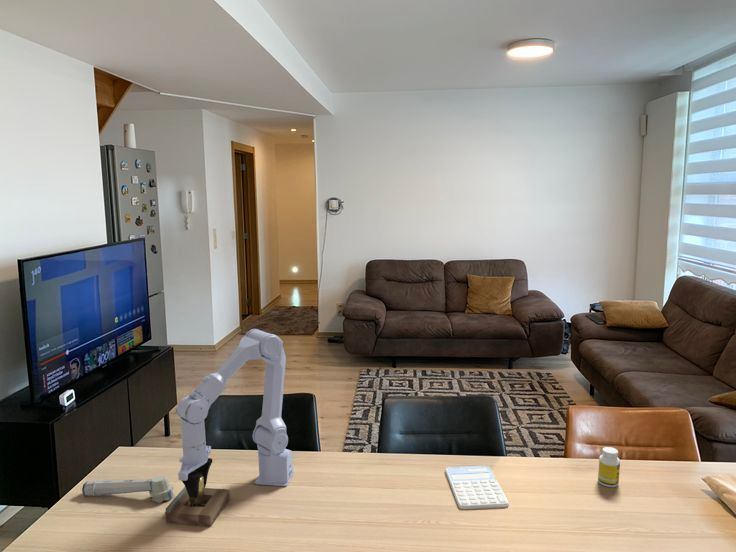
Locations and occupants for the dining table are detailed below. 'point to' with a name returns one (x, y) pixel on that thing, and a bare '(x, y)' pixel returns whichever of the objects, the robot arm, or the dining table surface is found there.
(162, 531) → the dining table surface
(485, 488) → the calculator
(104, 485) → the grey long knobbed part
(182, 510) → the jig
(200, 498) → the tan cylinder
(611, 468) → the supplement bottle
